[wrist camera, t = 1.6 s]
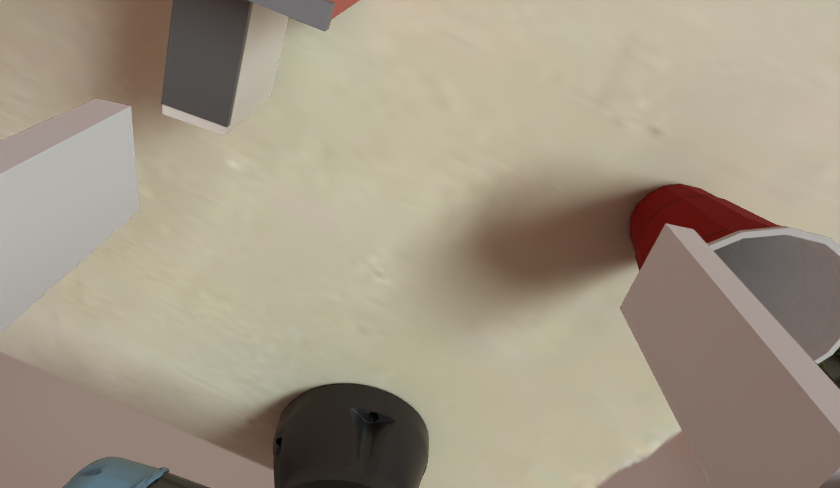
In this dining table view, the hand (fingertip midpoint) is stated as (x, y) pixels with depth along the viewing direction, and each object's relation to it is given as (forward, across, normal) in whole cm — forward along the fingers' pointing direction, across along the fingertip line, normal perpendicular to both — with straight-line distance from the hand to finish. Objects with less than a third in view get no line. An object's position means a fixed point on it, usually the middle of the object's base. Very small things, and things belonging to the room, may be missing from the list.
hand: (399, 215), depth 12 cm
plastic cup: (+22, +20, -7) cm, 31 cm away
